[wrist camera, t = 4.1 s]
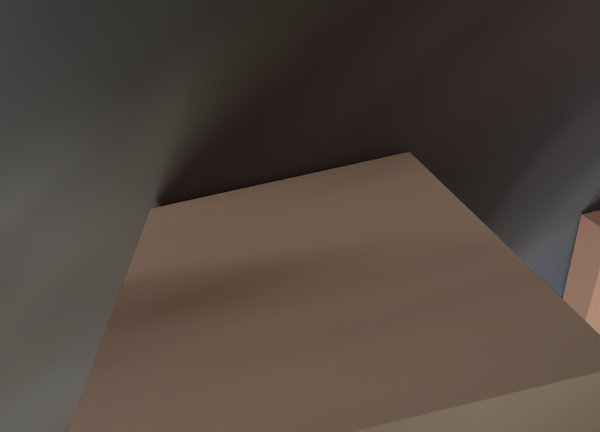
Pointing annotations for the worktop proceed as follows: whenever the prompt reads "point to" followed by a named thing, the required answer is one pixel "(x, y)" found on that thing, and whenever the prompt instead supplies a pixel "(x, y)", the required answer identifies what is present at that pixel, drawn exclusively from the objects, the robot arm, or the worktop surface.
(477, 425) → the beech block
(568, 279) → the terracotta tile
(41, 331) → the worktop surface
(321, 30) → the worktop surface
